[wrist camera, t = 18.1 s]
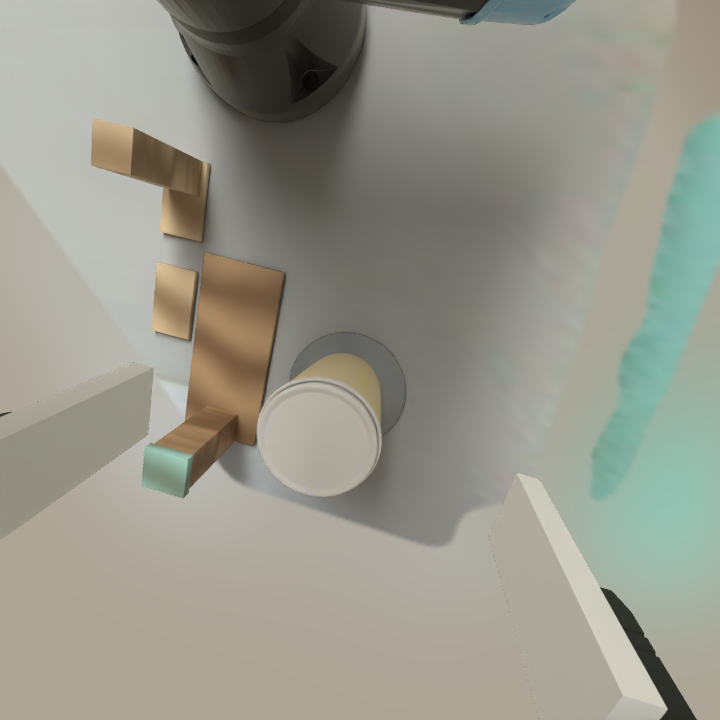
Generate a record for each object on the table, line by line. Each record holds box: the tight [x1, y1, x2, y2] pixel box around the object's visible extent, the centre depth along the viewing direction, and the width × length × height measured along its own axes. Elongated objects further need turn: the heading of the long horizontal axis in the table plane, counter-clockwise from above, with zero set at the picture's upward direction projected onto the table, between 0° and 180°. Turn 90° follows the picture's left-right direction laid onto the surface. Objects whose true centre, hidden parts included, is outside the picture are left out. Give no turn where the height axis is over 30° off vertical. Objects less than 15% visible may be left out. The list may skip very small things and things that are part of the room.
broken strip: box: [91, 118, 210, 340], centre depth 33 cm, size 17×4×10 cm, turn 167°
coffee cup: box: [257, 353, 382, 497], centre depth 33 cm, size 9×9×12 cm
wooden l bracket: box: [142, 253, 285, 498], centre depth 34 cm, size 19×8×10 cm, turn 167°
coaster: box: [290, 333, 406, 435], centre depth 39 cm, size 12×12×1 cm
